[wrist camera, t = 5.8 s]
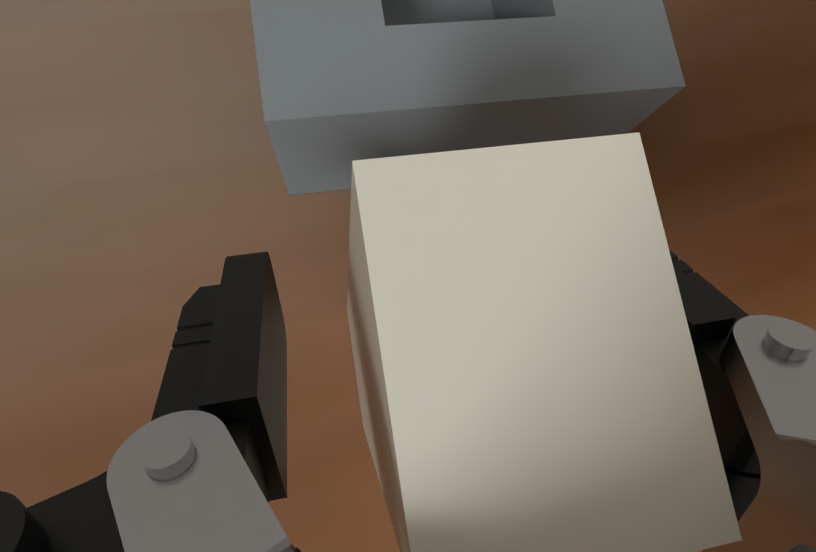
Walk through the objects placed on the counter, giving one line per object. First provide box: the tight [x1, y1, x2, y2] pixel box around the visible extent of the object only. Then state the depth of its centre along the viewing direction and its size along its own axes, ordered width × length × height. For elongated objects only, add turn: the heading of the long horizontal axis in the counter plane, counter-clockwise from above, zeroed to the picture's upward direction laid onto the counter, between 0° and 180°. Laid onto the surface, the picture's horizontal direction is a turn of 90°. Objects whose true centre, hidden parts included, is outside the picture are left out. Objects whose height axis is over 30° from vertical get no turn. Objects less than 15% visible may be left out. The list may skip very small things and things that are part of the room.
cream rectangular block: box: [347, 132, 742, 552], centre depth 11 cm, size 3×4×13 cm
